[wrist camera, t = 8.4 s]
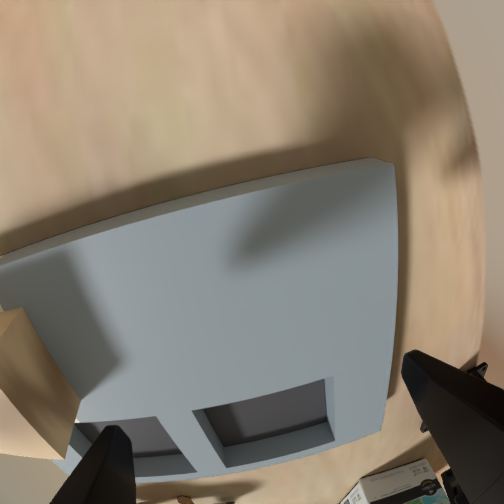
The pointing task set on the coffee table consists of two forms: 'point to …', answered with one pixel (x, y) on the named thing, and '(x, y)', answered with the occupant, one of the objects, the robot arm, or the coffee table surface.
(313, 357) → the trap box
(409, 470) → the tea box
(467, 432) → the robot arm
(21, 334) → the block
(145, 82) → the coffee table surface
